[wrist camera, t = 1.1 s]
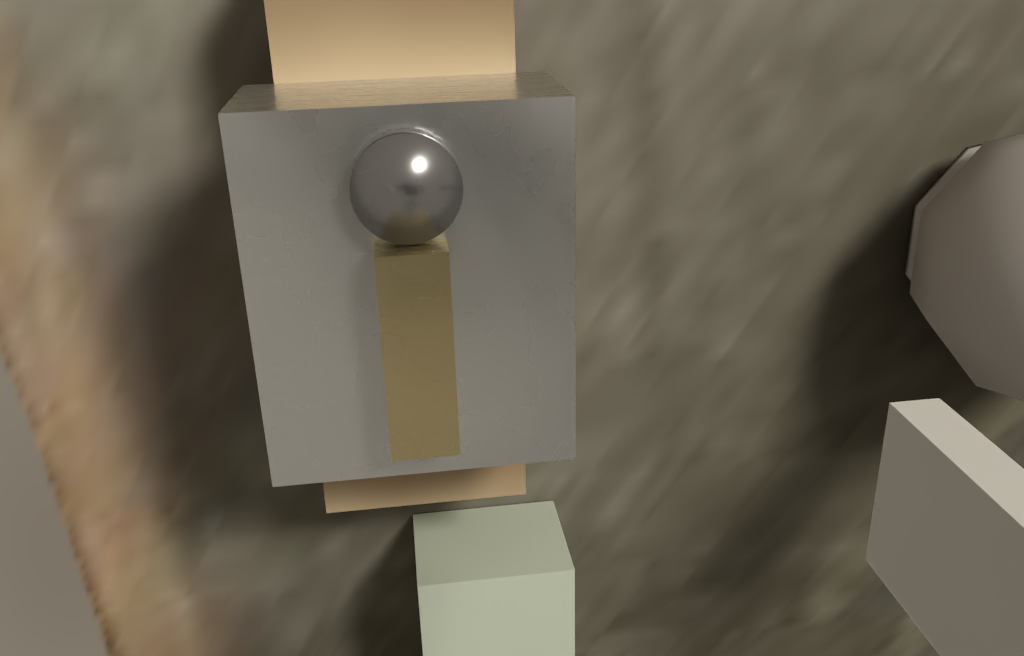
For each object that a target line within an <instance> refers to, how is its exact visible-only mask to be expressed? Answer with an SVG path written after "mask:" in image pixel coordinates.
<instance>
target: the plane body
mask: <svg viewBox="0 0 1024 656" xmlns="http://www.w3.org/2000/svg"><path fill="white" fill-rule="evenodd" d="M264 7H265V15H266V23H267V31H268V40H269V48H270V56H271V64H272V72H273V80H274V84H280V83H301V82H323V81H345V80H366V79H388V78H409V77H431V76H452V75H474V74H496V73H516V67H515V27H514V0H264ZM323 489H324V497H325V505H326V513H334V512H345V511H355V510H365V509H376V508H386V507H396V506H407V505H417V504H427V503H438V502H448V501H458V500H469V499H479V498H489V497H500V496H510V495H520V494H526V470H525V464H515V465H505V466H494V467H483V468H472V469H462V470H451V471H440V472H429V473H419V474H408V475H397V476H386V477H376V478H365V479H354V480H343V481H333V482H323Z"/></svg>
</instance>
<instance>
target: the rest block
mask: <svg viewBox="0 0 1024 656" xmlns="http://www.w3.org/2000/svg"><path fill="white" fill-rule="evenodd" d="M413 526H414V541H415V557H416V573H417V588H418V600H419V613H420V625H421V637H422V650H423V656H575V569H574V566H573V563H572V560H571V556H570V553H569V550H568V547H567V544H566V540H565V537H564V534H563V531H562V528H561V525H560V521H559V518H558V515H557V512H556V509H555V505H554V502H553V501H545V502H535V503H525V504H514V505H504V506H494V507H484V508H473V509H463V510H453V511H443V512H433V513H422V514H413Z"/></svg>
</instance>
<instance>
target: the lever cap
mask: <svg viewBox="0 0 1024 656" xmlns="http://www.w3.org/2000/svg"><path fill="white" fill-rule="evenodd" d="M218 119H219V126H220V133H221V139H222V146H223V153H224V160H225V167H226V173H227V180H228V187H229V194H230V201H231V207H232V214H233V221H234V228H235V235H236V241H237V248H238V255H239V262H240V269H241V276H242V282H243V289H244V296H245V303H246V310H247V316H248V323H249V330H250V337H251V344H252V350H253V357H254V364H255V371H256V378H257V385H258V391H259V398H260V405H261V412H262V419H263V425H264V432H265V439H266V446H267V453H268V459H269V466H270V473H271V480H272V487H279V486H290V485H300V484H311V483H322V482H333V481H343V480H354V479H365V478H376V477H386V476H397V475H408V474H419V473H429V472H440V471H451V470H462V469H472V468H483V467H494V466H505V465H515V464H526V463H537V462H548V461H558V460H569V459H576V154H575V95H574V94H572V93H571V92H570V91H569V90H567V89H566V88H565V87H564V86H563V85H561V84H560V83H559V82H558V81H556V80H555V79H554V78H553V77H551V76H550V75H549V74H548V73H546V72H545V71H539V72H517V73H496V74H474V75H452V76H431V77H409V78H388V79H366V80H345V81H323V82H301V83H280V84H258V85H242V87H241V88H240V89H239V90H238V91H237V92H236V93H235V95H234V96H233V97H232V98H231V99H230V100H229V101H228V103H227V104H226V105H225V106H224V107H223V108H222V109H221V111H220V112H219V113H218Z"/></svg>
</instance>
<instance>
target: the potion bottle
mask: <svg viewBox="0 0 1024 656" xmlns="http://www.w3.org/2000/svg"><path fill="white" fill-rule="evenodd" d="M904 274H905V275H906V276H907V278H908V279H909V280H910V282H911V286H910V292H909V293H910V295H911V297H912V298H913V300H914V301H915V303H916V304H917V306H918V307H919V309H920V310H921V312H922V314H923V315H924V317H925V318H926V320H927V321H928V323H929V324H930V325H931V327H932V328H933V329H934V331H935V332H936V333H937V335H938V336H939V337H940V339H941V340H942V341H943V343H944V344H945V345H946V347H947V348H948V349H949V351H950V352H951V353H952V355H953V356H954V357H955V359H956V360H957V361H958V363H959V364H960V365H961V367H962V368H963V369H964V371H965V372H966V373H967V375H968V376H969V377H970V379H971V380H972V381H973V383H974V384H975V385H976V386H978V387H981V388H984V389H987V390H990V391H993V392H997V393H1000V394H1003V395H1006V396H1009V397H1012V398H1015V399H1019V400H1022V401H1024V133H1022V134H1018V135H1014V136H1009V137H1005V138H1001V139H997V140H993V141H988V142H985V143H984V144H979V145H975V146H971V147H967V148H965V150H964V151H963V152H962V153H961V154H960V155H959V156H958V157H957V158H956V159H955V161H954V162H953V163H952V164H951V165H950V166H949V167H948V168H947V169H946V170H945V172H944V173H943V174H942V175H941V176H940V177H939V178H938V179H937V180H936V181H935V183H934V184H933V185H932V186H931V187H930V188H929V189H928V190H927V191H926V192H925V194H924V195H923V196H922V197H921V198H920V199H919V200H918V201H917V202H916V204H915V205H914V208H913V215H912V223H911V230H910V237H909V244H908V251H907V258H906V265H905V272H904Z"/></svg>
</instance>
